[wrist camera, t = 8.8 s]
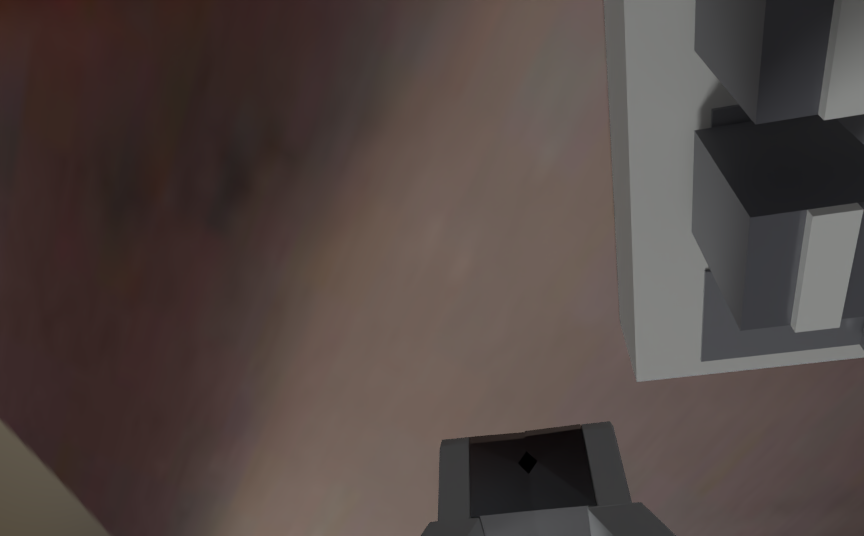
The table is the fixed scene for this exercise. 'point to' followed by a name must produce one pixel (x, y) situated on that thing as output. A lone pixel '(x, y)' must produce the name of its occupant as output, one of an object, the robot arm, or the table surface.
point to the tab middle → (782, 220)
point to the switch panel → (680, 206)
